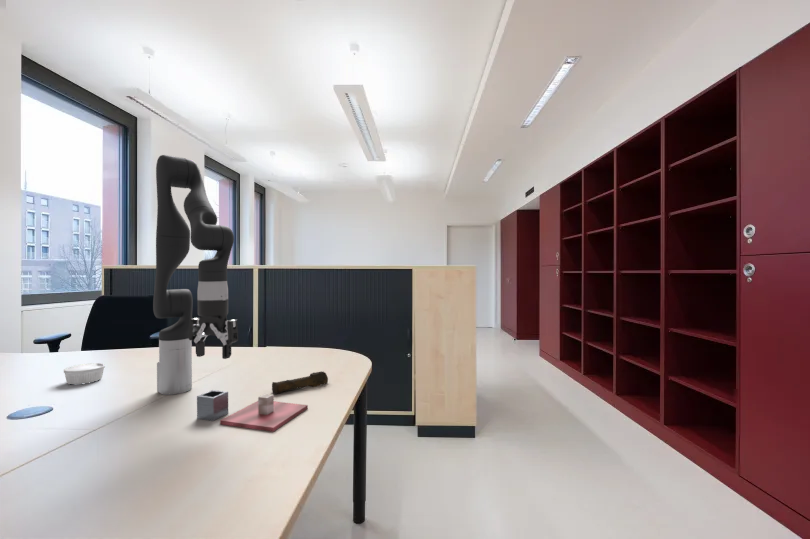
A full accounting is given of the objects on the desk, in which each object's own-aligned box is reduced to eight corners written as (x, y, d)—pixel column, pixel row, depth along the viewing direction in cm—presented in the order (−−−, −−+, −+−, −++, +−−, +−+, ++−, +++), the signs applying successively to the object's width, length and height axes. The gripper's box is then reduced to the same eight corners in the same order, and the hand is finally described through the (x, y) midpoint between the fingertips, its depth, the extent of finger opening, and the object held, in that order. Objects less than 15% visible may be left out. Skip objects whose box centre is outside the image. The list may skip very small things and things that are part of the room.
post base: (220, 424, 100) (219, 403, 99) (260, 403, 115) (259, 384, 115) (273, 431, 95) (273, 409, 95) (307, 408, 110) (307, 389, 110)
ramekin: (110, 380, 139) (110, 365, 139) (70, 388, 129) (70, 372, 129) (97, 375, 145) (97, 361, 145) (58, 383, 135) (58, 368, 135)
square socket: (197, 418, 103) (196, 396, 103) (212, 411, 108) (212, 390, 108) (213, 420, 102) (213, 398, 102) (228, 413, 107) (228, 391, 107)
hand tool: (274, 396, 122) (274, 381, 121) (271, 392, 125) (271, 378, 125) (330, 386, 132) (330, 372, 132) (326, 383, 135) (326, 369, 135)
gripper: (180, 298, 103) (181, 358, 103) (224, 299, 99) (225, 362, 100) (202, 296, 111) (202, 352, 111) (244, 297, 107) (244, 355, 107)
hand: (213, 357), depth 105 cm, fingers open, 8 cm apart
